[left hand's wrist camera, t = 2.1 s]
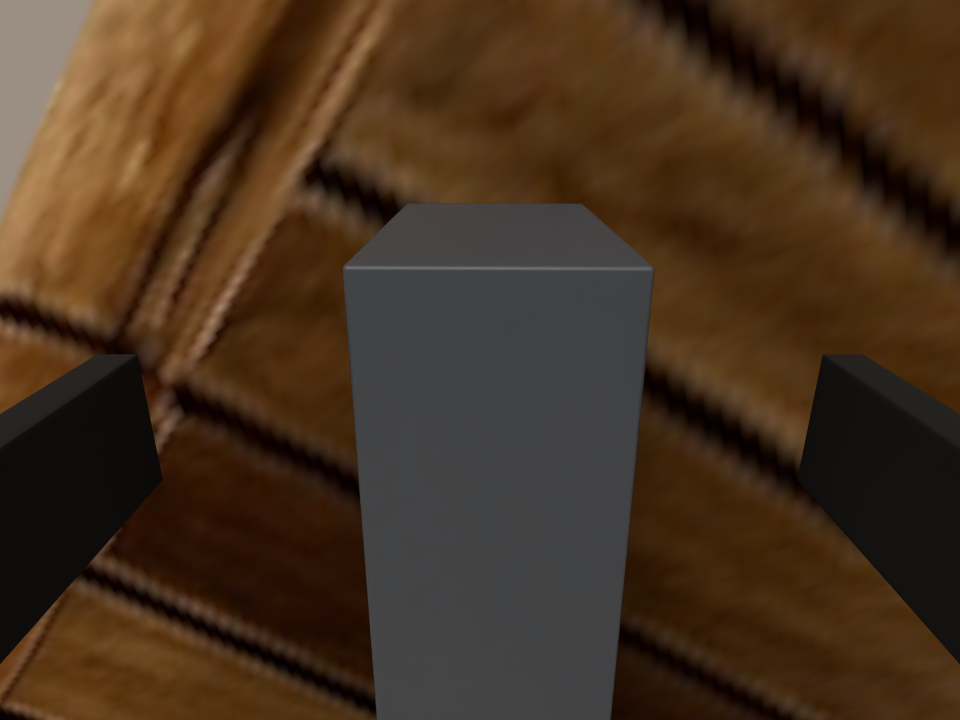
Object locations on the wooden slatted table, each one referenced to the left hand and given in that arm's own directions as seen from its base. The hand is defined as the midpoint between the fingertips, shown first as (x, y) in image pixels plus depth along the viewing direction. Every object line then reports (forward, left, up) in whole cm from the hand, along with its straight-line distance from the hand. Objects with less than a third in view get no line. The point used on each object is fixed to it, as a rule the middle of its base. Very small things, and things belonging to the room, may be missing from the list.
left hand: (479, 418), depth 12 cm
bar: (-5, +7, -7) cm, 11 cm away
